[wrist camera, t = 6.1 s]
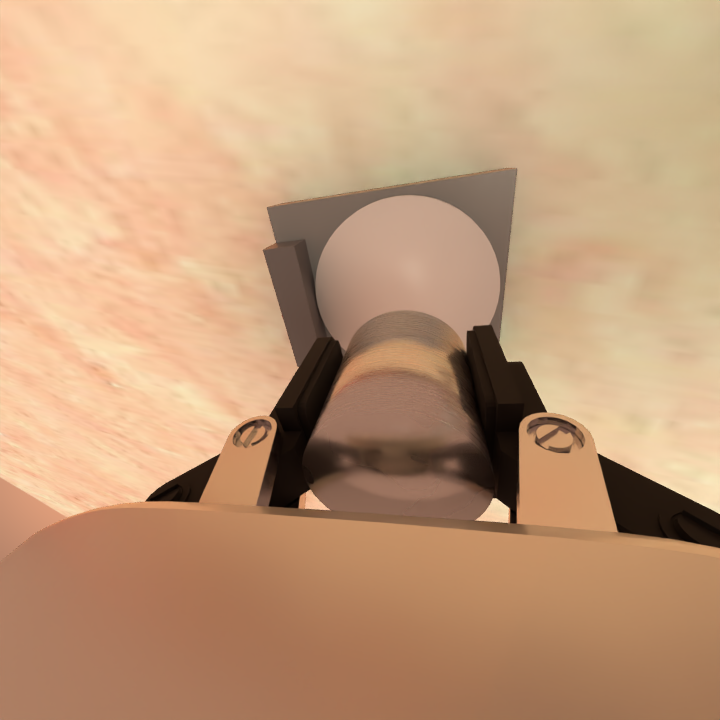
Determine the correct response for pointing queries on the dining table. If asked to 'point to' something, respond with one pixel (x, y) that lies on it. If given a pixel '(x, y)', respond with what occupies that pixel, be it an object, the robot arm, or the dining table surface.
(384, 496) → the cylinder
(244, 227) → the dining table surface
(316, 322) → the scale
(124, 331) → the dining table surface
